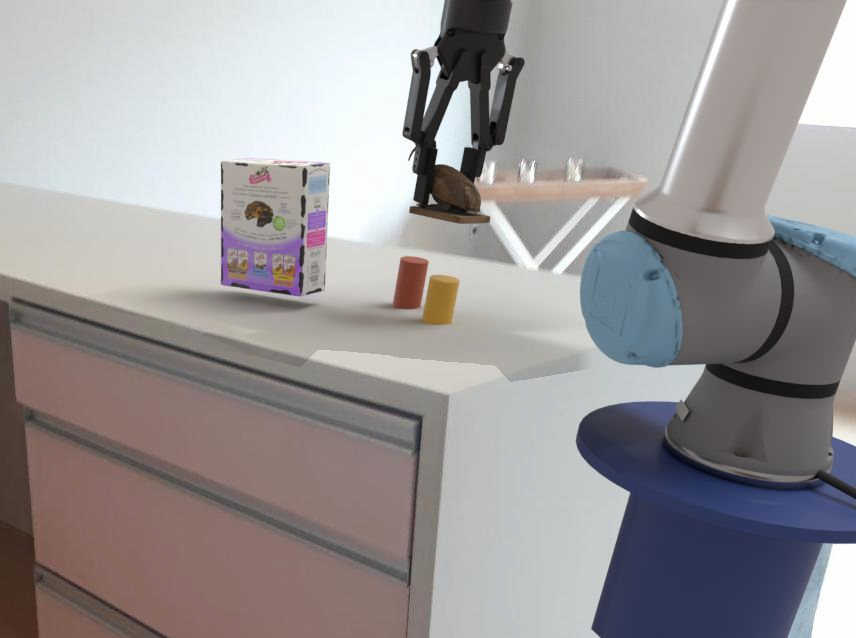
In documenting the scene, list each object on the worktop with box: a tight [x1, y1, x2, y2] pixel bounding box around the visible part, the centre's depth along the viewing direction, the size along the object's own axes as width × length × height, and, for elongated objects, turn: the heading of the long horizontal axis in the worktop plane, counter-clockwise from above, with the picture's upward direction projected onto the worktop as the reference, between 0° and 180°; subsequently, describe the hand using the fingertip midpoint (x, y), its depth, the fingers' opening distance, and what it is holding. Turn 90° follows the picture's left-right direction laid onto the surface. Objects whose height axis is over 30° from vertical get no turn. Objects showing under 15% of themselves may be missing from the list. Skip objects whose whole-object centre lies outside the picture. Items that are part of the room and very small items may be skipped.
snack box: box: [220, 157, 331, 297], centre depth 151 cm, size 14×6×16 cm, turn 47°
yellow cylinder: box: [421, 274, 461, 325], centre depth 142 cm, size 4×4×7 cm
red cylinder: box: [391, 255, 430, 310], centre depth 150 cm, size 4×4×7 cm
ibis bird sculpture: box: [407, 140, 491, 225], centre depth 140 cm, size 14×4×9 cm, turn 26°
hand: (441, 202), depth 141 cm, fingers closed on ibis bird sculpture, 5 cm apart
